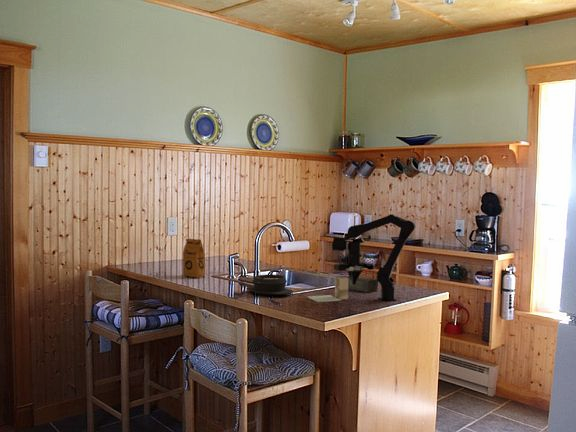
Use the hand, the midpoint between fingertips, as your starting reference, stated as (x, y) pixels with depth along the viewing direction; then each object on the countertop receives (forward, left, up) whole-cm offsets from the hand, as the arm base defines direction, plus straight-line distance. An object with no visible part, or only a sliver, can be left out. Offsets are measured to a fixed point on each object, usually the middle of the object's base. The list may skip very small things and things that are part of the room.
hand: (353, 284), depth 264 cm
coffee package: (+80, +60, -6) cm, 100 cm away
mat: (0, +15, -6) cm, 16 cm away
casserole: (+20, +35, -6) cm, 41 cm away
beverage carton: (+18, -12, -6) cm, 23 cm away
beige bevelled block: (0, +6, -6) cm, 9 cm away
